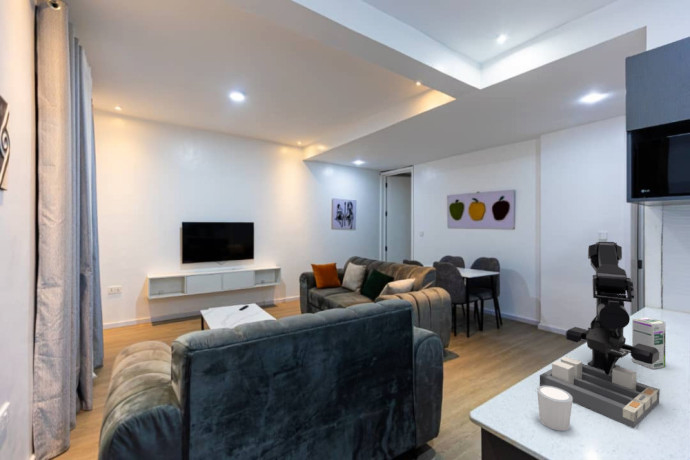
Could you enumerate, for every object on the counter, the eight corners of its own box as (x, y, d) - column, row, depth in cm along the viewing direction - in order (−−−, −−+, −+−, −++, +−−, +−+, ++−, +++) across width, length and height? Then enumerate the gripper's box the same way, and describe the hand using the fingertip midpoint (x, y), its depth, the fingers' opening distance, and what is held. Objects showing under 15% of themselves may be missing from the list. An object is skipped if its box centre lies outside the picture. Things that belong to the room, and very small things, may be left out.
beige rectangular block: (565, 374, 90) (566, 356, 90) (581, 380, 87) (582, 361, 87) (560, 377, 89) (560, 359, 88) (576, 383, 85) (577, 364, 85)
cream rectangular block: (557, 379, 88) (557, 360, 87) (573, 385, 84) (574, 366, 84) (551, 382, 86) (552, 363, 86) (568, 388, 83) (568, 369, 82)
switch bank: (569, 370, 96) (569, 358, 96) (659, 402, 79) (659, 388, 79) (539, 387, 86) (539, 374, 86) (633, 428, 69) (634, 411, 69)
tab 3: (616, 385, 84) (616, 366, 84) (635, 392, 81) (636, 372, 81) (611, 388, 83) (612, 369, 82) (631, 395, 79) (632, 375, 79)
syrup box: (653, 369, 96) (654, 323, 96) (631, 361, 102) (632, 318, 101) (665, 367, 98) (666, 322, 97) (643, 359, 103) (644, 316, 103)
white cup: (557, 412, 75) (558, 384, 75) (580, 432, 68) (580, 401, 68) (530, 413, 75) (530, 385, 75) (549, 433, 68) (550, 402, 68)
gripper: (557, 313, 88) (555, 367, 88) (645, 335, 72) (643, 400, 72) (575, 307, 94) (573, 358, 94) (661, 326, 78) (658, 387, 78)
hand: (607, 374), depth 85 cm, fingers closed
